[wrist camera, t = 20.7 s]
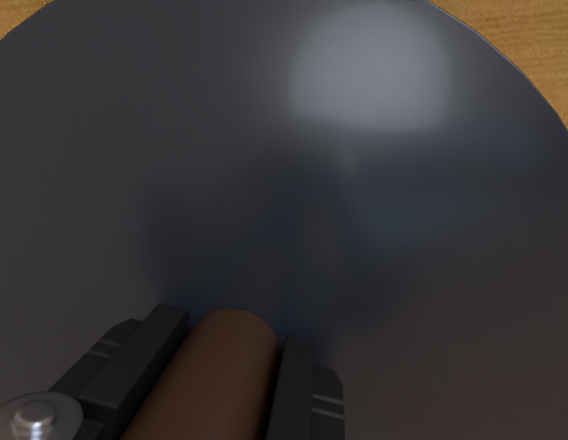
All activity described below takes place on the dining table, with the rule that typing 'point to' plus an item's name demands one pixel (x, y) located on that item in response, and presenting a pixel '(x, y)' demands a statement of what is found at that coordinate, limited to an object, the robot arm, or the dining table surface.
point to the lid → (287, 212)
